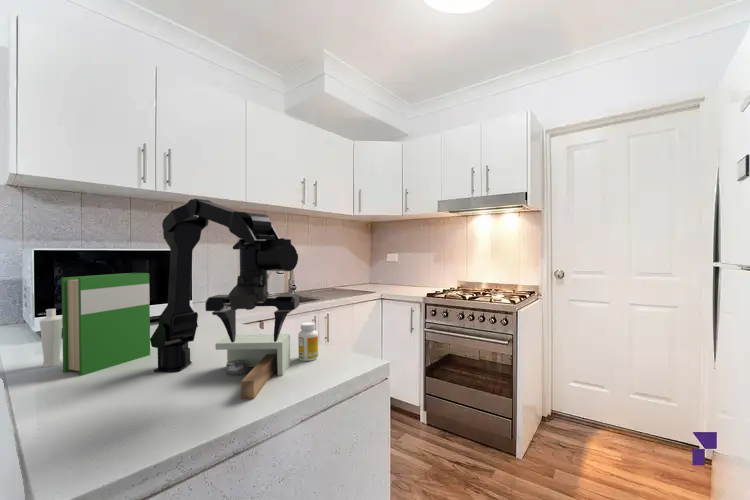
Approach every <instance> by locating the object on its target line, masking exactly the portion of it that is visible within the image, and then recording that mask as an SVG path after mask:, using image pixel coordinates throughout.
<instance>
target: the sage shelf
mask: <svg viewBox="0 0 750 500" xmlns="http://www.w3.org/2000/svg"><path fill="white" fill-rule="evenodd" d="M214 346H215V351H216V350H217V351H219V350H221V351H222V350H226V358H227V362H226V364H227V363H228V362H230V361H233V360H247V361H248V368H249V367H250V368H251V367H253V368H254V367H255V366H256V365H257V364H258V363H259V362H260V361H261V359H262V358H263V357H264V356H265V355H266V354H276V367H277V376H280V377H281V376H284V374H285V372H286V371H287V370H288V368H289V367H290V365H291V335H290V333H289V334H288V333H287V334H285V333H284V334H281V333H280V334H279V336H278V339H277V341H276V342H274V334H236V336H235V342H231V340H230V338H229V335H228V334H227V336H225V337H223V338H222V339H221V340H219V341H217V342H215V345H214Z"/></svg>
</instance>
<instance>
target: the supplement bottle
mask: <svg viewBox="0 0 750 500" xmlns="http://www.w3.org/2000/svg"><path fill="white" fill-rule="evenodd" d="M315 329H316V323H315V322H311V321H310V322H302V323H300V330H301V331H299V333H298V336H297V337H298V338H297V339H298V360H300V361H302V362H310V361H315V360H317V359H318V358H319V334H318V330H315Z"/></svg>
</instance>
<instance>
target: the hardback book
mask: <svg viewBox="0 0 750 500" xmlns="http://www.w3.org/2000/svg"><path fill="white" fill-rule="evenodd" d="M150 296H151V295H150V273H148V272H147V273H146V272H129V273H127V272H126V273H123V272H122V273H111V274H109V273H108V274H98V275H97V274H96V275H84V276H83V275H82V276H81V275H79V276H69V277H68V276H67V277H61V316H62V317H61V318H62V334H61V336H62V373H65V374H66V373H69V372H73V371H75V372H76V371H77V372H78V373H79V377H80V376H86V375H88V374H93V373H95V372H99V371H102V370H105V369H109V368H113V367H115V366H119V365H122V364H125V363H129V362H133V361H134V360H138V359H142V358H144V357H147V356H151V341H150V338H151V320H150V319H151V313H150V312H151V310H150V309H151V308H150V307H151V306H150V301H151V300H150Z"/></svg>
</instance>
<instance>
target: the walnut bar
mask: <svg viewBox="0 0 750 500" xmlns="http://www.w3.org/2000/svg"><path fill="white" fill-rule="evenodd" d="M276 370H277V366H276V354H266V355H265V356H264V357H263V358H262V359H261V361H260V362H259V363H258V364H257V365H256V366H255V367H253V368H252V369H251V370H250V371H248V374H246V375H245V376H244V378H243V379H242V380H241V381H240V383H241V385H240V389H241V392H240V393H241V395H240V396H241V400H255V399H256V397H257V396H258V394H259V393H260V392H261V390H262V389H263V387H264V386H265V385H266V383H267V382H268V381H269V379H270V378H271V377H272V376H273V374H274V372H276Z"/></svg>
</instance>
